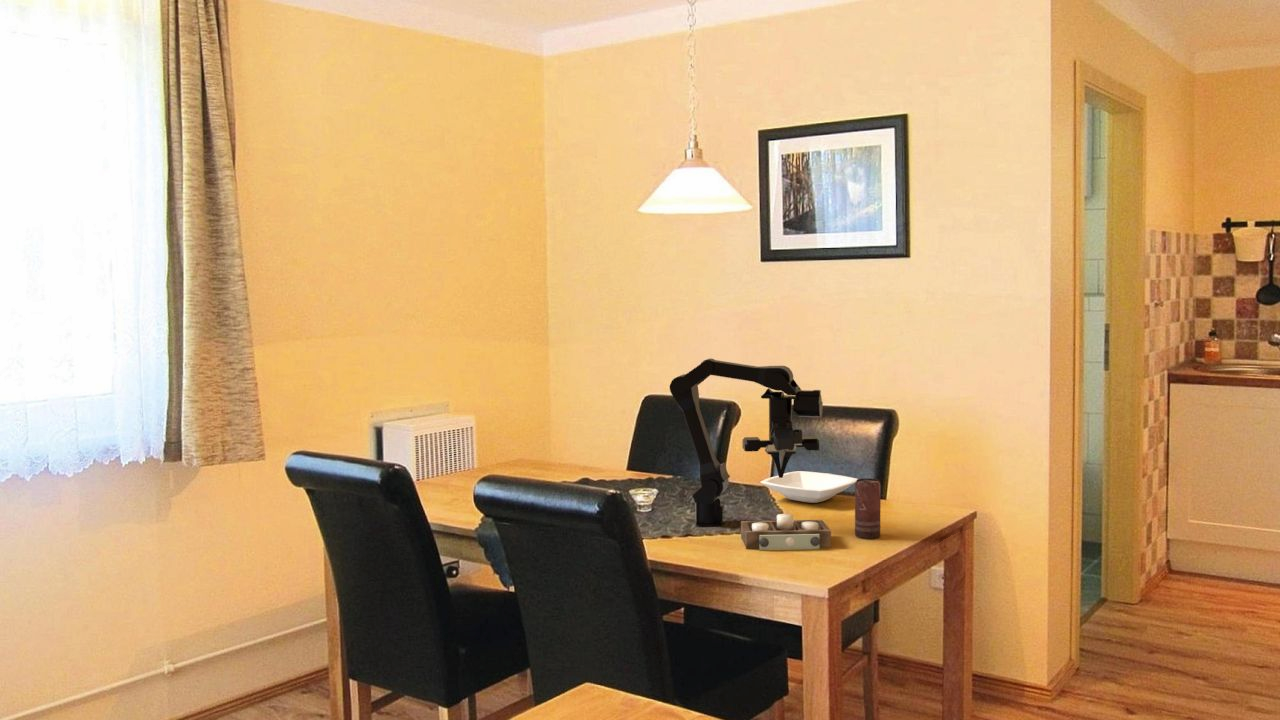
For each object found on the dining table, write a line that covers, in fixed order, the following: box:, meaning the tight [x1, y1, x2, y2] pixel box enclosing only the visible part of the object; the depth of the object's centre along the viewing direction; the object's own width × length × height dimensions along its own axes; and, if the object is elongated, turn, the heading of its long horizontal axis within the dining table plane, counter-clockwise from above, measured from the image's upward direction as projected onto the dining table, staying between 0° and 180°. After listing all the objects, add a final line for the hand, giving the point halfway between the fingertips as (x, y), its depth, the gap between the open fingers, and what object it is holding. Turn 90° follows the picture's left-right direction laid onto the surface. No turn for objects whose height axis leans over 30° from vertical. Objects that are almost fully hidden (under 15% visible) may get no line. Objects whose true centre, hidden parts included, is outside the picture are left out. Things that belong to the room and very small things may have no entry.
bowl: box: [760, 470, 859, 504], centre depth 311 cm, size 22×23×6 cm
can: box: [854, 477, 882, 540], centre depth 268 cm, size 6×6×14 cm
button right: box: [802, 521, 818, 530], centre depth 265 cm, size 4×4×3 cm
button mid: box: [776, 513, 795, 530], centre depth 264 cm, size 4×4×3 cm
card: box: [759, 534, 820, 551], centre depth 258 cm, size 14×1×4 cm, turn 91°
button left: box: [752, 522, 769, 531], centre depth 264 cm, size 4×4×3 cm
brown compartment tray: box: [740, 519, 832, 550], centre depth 265 cm, size 20×11×4 cm, turn 91°
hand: (780, 477), depth 278 cm, fingers closed
